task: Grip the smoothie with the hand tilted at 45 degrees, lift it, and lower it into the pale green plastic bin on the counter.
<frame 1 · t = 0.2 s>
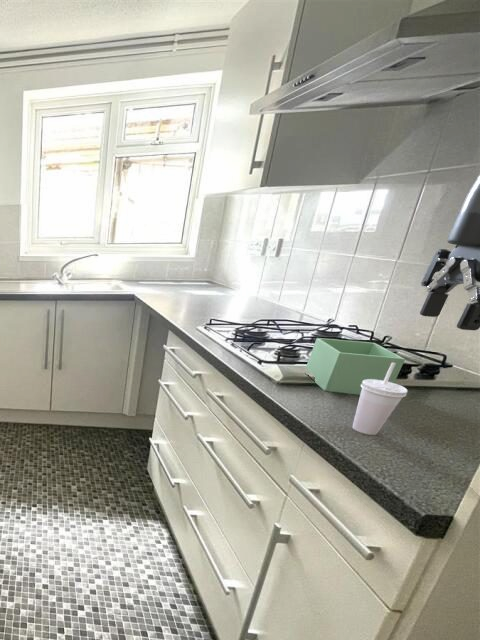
hand: (446, 322, 65), 24 cm above the countertop, tool pointing down, fingers open, 8 cm apart
smoothie: (364, 431, 82), on the countertop
bin: (342, 384, 103), on the countertop
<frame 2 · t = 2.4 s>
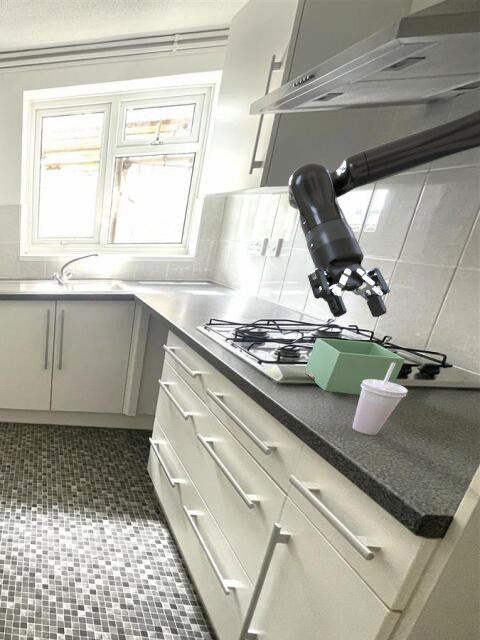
hand: (360, 315, 82), 21 cm above the countertop, tool tilted 45°, fingers open, 8 cm apart
nothing on the countertop moved.
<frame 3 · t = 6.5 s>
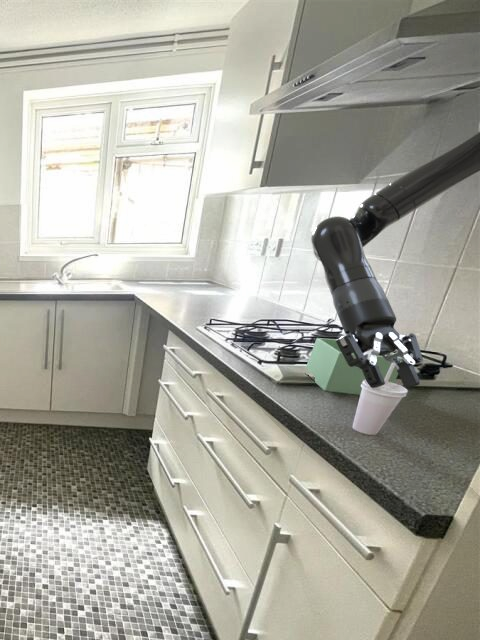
hand: (395, 386, 76), 10 cm above the countertop, tool tilted 45°, fingers closed on smoothie, 6 cm apart
smoothie: (364, 431, 82), on the countertop, touching gripper
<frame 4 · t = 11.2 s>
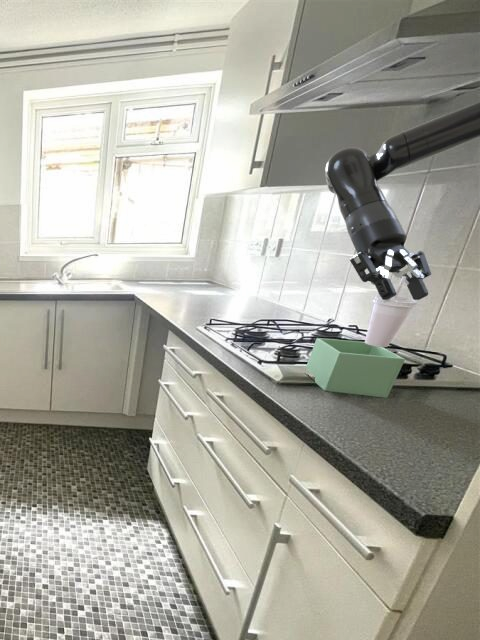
hand: (405, 297, 82), 24 cm above the countertop, tool tilted 45°, fingers closed on smoothie, 6 cm apart
smoothie: (375, 345, 88), point 14 cm above the countertop, touching gripper
when the fingers open (11 cm above the countertop, at t = 16.2 s): smoothie stays where it is, resting on bin.
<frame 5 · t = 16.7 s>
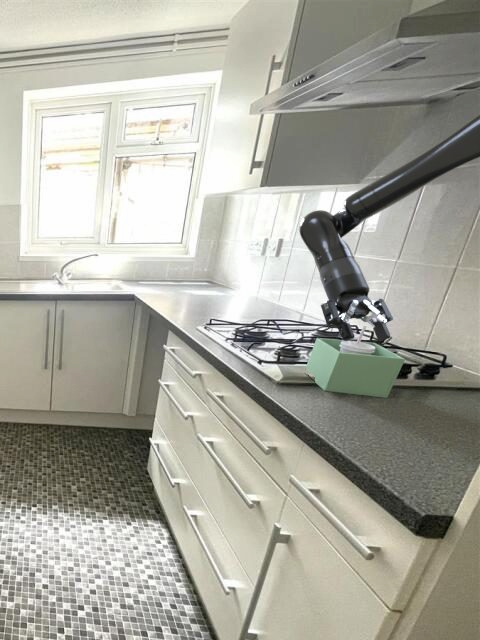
hand: (367, 339, 97), 12 cm above the countertop, tool tilted 45°, fingers open, 8 cm apart
smoothie: (342, 382, 103), resting on bin
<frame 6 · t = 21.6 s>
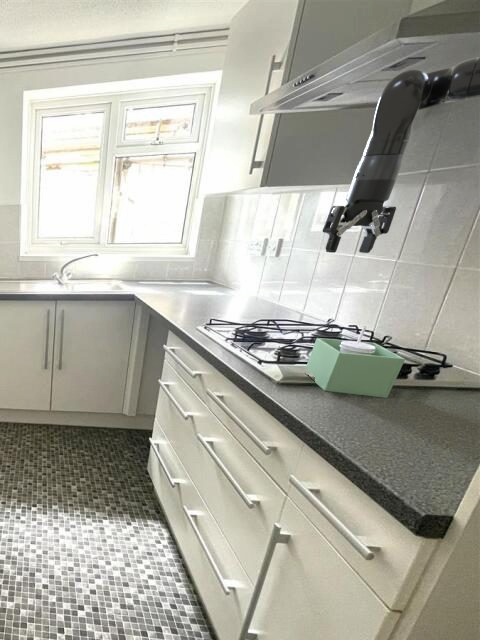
hand: (347, 252, 101), 30 cm above the countertop, tool pointing down, fingers open, 8 cm apart
nothing on the countertop moved.
at the end: smoothie inside the target area in the bin (0.2 cm from its centre), point 0.4 cm above the bin's base; the gripper is holding nothing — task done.
